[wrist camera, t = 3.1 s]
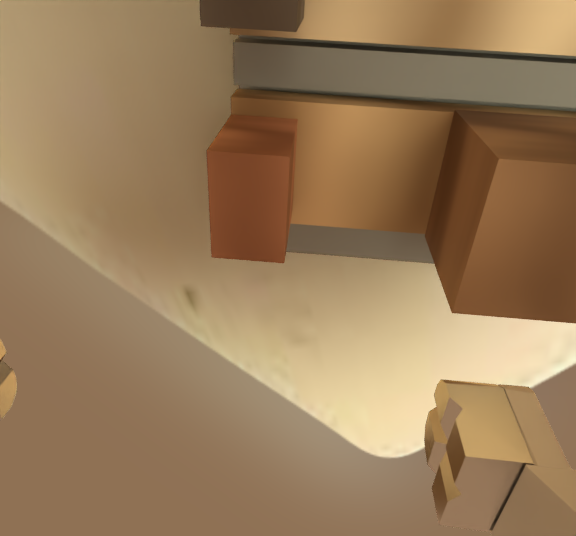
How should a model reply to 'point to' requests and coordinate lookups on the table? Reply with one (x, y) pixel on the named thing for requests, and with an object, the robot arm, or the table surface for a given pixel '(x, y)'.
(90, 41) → the table surface
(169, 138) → the table surface
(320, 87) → the lane tray
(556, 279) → the walnut cube
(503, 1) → the maple strip
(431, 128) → the oak strip
